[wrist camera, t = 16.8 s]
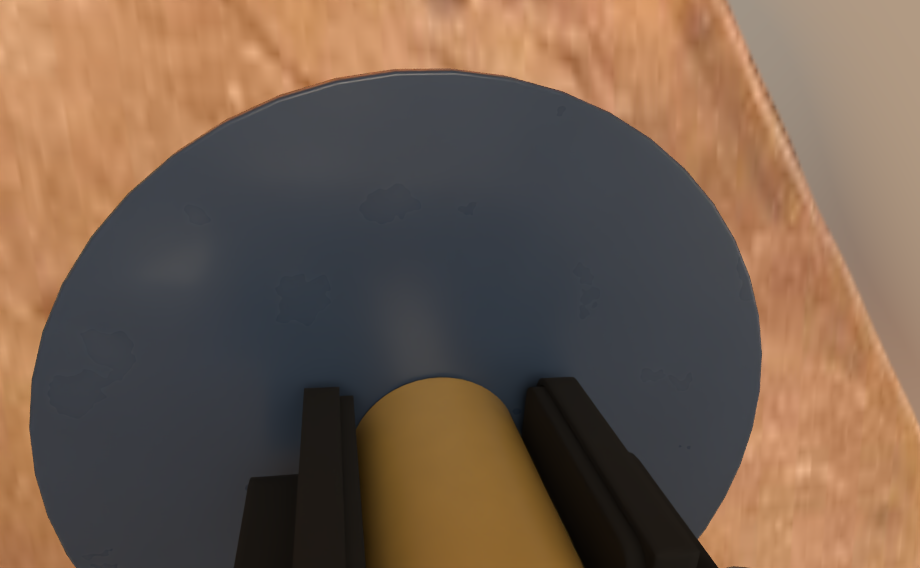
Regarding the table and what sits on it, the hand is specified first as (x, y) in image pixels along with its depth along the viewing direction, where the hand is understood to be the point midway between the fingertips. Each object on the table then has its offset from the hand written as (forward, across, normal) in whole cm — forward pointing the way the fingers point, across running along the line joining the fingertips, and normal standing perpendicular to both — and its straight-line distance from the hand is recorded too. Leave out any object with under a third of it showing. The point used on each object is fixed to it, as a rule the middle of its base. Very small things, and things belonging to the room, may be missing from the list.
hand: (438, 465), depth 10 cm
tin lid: (+1, 0, 0) cm, 1 cm away
